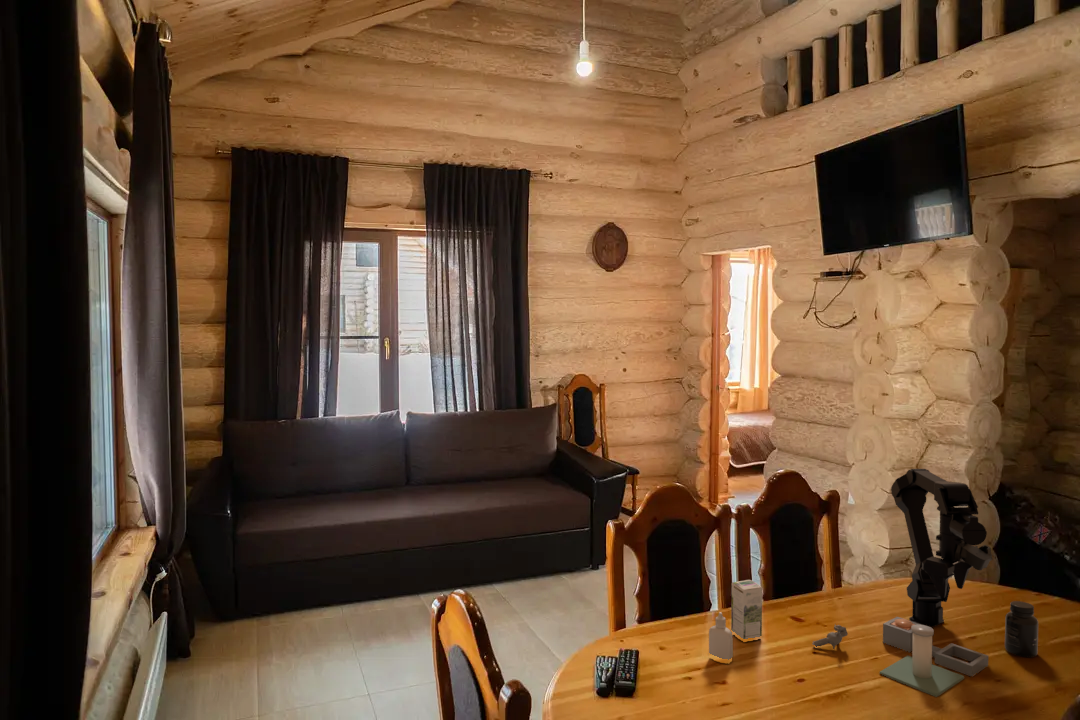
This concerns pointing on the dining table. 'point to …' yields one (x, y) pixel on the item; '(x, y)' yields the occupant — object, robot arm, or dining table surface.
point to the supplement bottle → (1021, 630)
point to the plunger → (903, 624)
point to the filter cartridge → (922, 651)
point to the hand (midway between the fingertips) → (951, 592)
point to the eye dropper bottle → (720, 639)
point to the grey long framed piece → (937, 650)
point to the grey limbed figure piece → (832, 637)
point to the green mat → (932, 685)
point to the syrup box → (746, 609)
